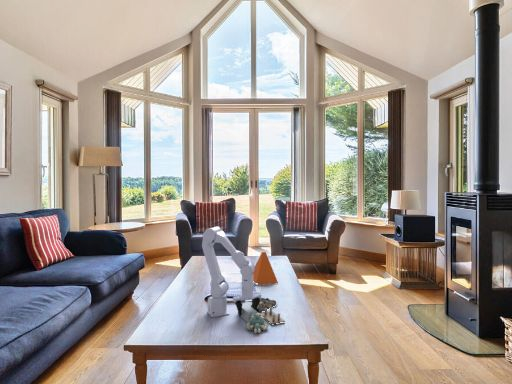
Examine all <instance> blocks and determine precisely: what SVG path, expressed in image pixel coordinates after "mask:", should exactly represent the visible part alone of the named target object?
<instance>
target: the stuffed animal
mask: <svg viewBox="0 0 512 384" xmlns="http://www.w3.org/2000/svg"><path fill="white" fill-rule="evenodd" d="M245 327H246V329H247V330H248V331H249V332H252V331H253V333H254V334H257V333H258V334H260V333H261V332H265V331H266V330H267V329H268V328H269V323H268V322H267V321H266V320H265V319H264V318H263V316H262V315H261V314H260V313H257V314H253V315H252V316H251V319H250V320H249V321H248V322H247V321H246V323H245ZM262 330H263V331H262Z"/></svg>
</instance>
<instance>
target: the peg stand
mask: <svg viewBox="0 0 512 384" xmlns="http://www.w3.org/2000/svg"><path fill="white" fill-rule="evenodd" d="M259 314H261V315H262V316H263V317H264V318H265V319H266V320H267V321H268V322H270V323H271V324H276V323H280V322H285V323H286V320H284V319H283V318H281V313H277V314H276V312H274V311H273V308H272V307H270V311H267V308H265V312H263V313H261V312H259ZM264 318H263V319H264ZM265 319H264V320H265ZM266 320H265V321H266ZM267 321H266V322H267ZM268 322H267V323H268ZM270 323H269V324H270ZM271 324H270V325H271Z"/></svg>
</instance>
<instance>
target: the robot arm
mask: <svg viewBox="0 0 512 384" xmlns="http://www.w3.org/2000/svg"><path fill="white" fill-rule="evenodd" d="M225 233H226V232H225V231H223V230H222V228H221V227H220V226H213V227H210V228H206V229H205V230H204V232H203V234H202V241H201V242H202V243H201V248H202V252H203V254H204V258H205V261H206V265H207V268H208V271H209V275H210V278H211V281H210V294H211V296H209V297H208V298H207V311H206V312H207V314H208V315H209V316H210V317H211V318H216V317H221V316H228V315H230V312H229V311H228V310H227V307H228V305H227V303H228V297H227V296H228V293H227V292H228V290H229V286H230V285H229V283H228V281H226V278H225V277H224V276H223V275H222V273H221V269H220V266H219V263H218V258H217V255H216V252H215V249H214V245H215V244H216V243H218V244H221V246H223V247H224V248H225V250H227V252H228V253H230V255H231V257H230V258H231V260H232V261H233V263H235V266H237V267H238V268H239V269H240V270H239V273H240V274H241V294H240V295H237V296H233V297H232V302H233V303H234V304H235V307H236V310H237V314H238V316H239V317H241V315H242V302H245V301H252V302H251V304H252V305H253V306H252V308H253V309H254V310H256V309H257V306H258V304H259V303H260V299H261V298H262V294H261V293H254V283H253V272H254V270H255V265H254V263H253V262H252V261H250V260H249V259H247V257H246V256H245V253H244V252H242V251H241V250H237V249H236V248H235V245H233V243H232V242H231V241H230V239H229V238H228V236H227V235H226V234H225Z"/></svg>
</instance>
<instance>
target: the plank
mask: <svg viewBox="0 0 512 384" xmlns="http://www.w3.org/2000/svg"><path fill="white" fill-rule="evenodd" d="M241 303H242V302H241ZM257 312H258V311H256V310H254V309H253V308H252V307H251V305H249V304H248V303H247V302H244V303H242V315H241V316H240V317H241V318H243V320H244V321H245V322H246V323H247V322H248V321H249V320H250V319H251V316H252V315H253V314H258V313H257Z"/></svg>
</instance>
